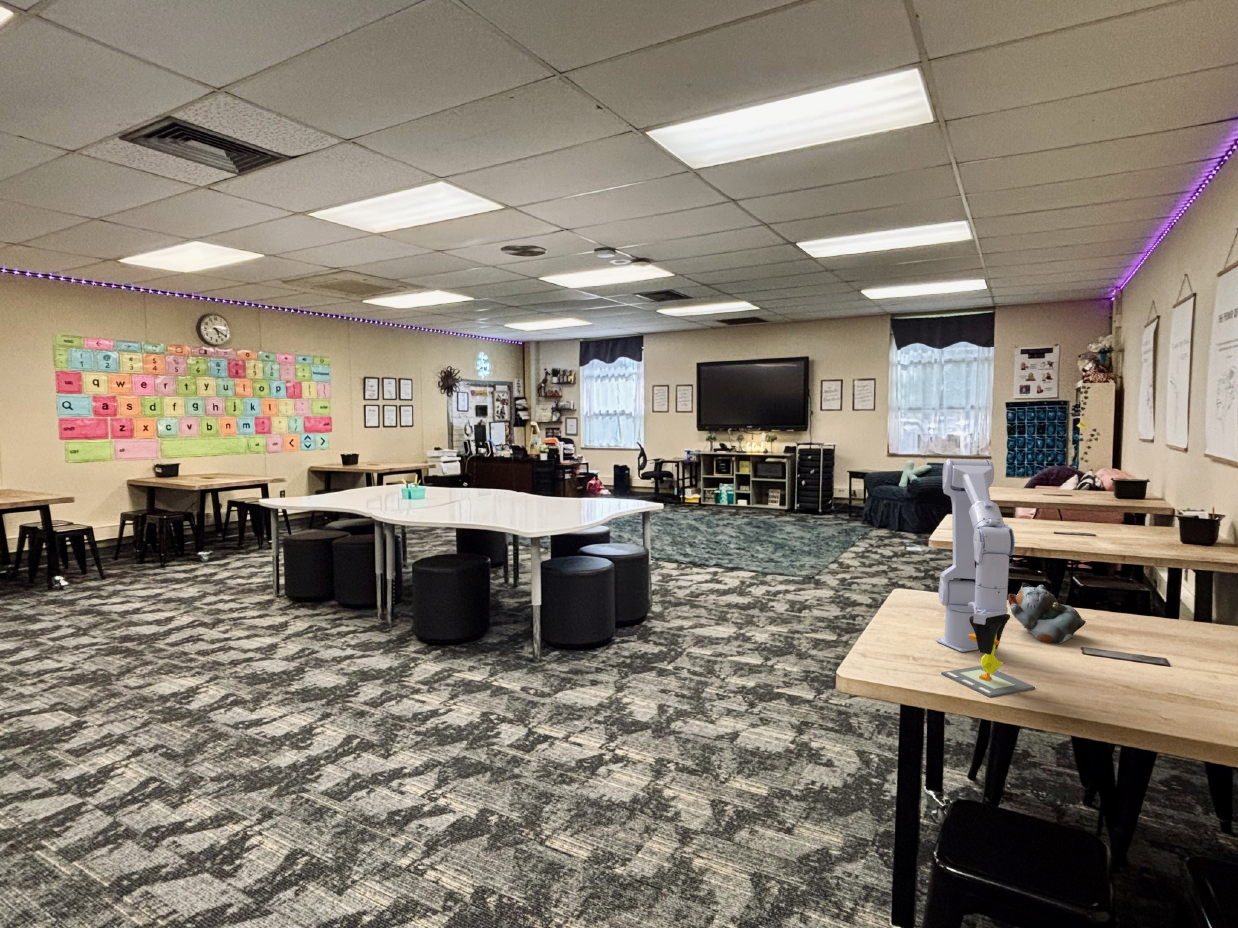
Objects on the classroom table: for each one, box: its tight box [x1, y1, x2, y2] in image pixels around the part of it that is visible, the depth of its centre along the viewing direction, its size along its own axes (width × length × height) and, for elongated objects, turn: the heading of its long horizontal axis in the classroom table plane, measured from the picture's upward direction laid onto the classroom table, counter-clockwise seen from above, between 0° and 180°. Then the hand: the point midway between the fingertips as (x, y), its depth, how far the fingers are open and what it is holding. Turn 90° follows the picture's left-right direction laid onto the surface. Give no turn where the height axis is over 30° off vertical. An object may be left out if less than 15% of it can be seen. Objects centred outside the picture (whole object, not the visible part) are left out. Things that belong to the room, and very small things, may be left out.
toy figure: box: [968, 634, 1004, 681], centre depth 137 cm, size 7×4×12 cm, turn 45°
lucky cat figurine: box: [1007, 582, 1087, 645], centre depth 166 cm, size 15×12×14 cm
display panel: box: [940, 665, 1036, 698], centre depth 138 cm, size 12×12×1 cm
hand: (988, 650), depth 137 cm, fingers open, 4 cm apart
